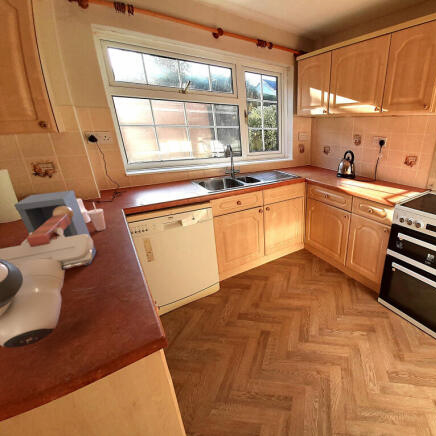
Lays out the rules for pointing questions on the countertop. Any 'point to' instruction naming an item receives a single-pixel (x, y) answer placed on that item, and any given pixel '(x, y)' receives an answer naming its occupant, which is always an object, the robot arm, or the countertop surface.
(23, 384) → the countertop surface
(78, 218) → the shelf
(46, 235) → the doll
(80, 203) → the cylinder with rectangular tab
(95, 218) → the smoothie
